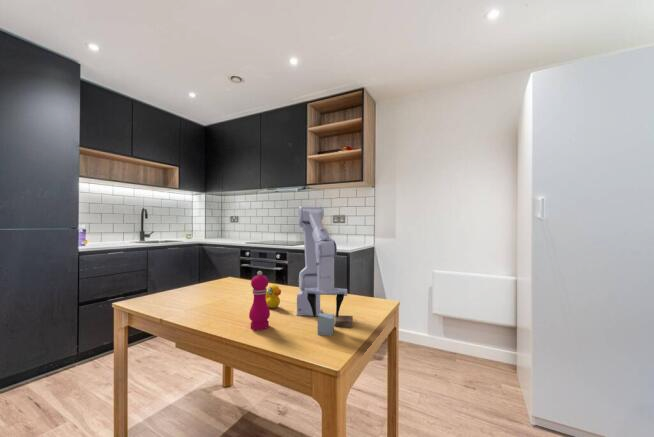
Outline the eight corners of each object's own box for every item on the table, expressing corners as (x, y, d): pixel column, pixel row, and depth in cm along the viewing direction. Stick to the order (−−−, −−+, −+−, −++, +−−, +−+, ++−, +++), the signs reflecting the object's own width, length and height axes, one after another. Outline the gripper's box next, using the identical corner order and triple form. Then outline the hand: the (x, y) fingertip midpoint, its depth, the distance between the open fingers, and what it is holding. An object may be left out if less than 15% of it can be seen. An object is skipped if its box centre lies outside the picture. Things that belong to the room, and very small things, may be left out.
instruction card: (320, 325, 99) (320, 324, 99) (323, 317, 107) (323, 316, 107) (334, 325, 99) (334, 324, 99) (336, 317, 107) (336, 317, 107)
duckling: (285, 309, 117) (285, 286, 118) (274, 312, 114) (274, 288, 114) (271, 303, 126) (271, 281, 126) (260, 306, 122) (260, 283, 122)
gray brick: (317, 334, 91) (317, 318, 91) (319, 329, 96) (319, 313, 96) (332, 335, 90) (332, 318, 91) (333, 329, 95) (333, 313, 96)
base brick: (335, 326, 98) (335, 321, 98) (336, 320, 104) (336, 315, 104) (352, 327, 97) (352, 321, 97) (352, 321, 103) (352, 315, 103)
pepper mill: (259, 332, 93) (259, 273, 93) (244, 328, 97) (244, 271, 97) (274, 325, 99) (274, 270, 99) (259, 321, 103) (259, 268, 103)
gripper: (302, 278, 90) (302, 319, 90) (346, 278, 89) (346, 321, 88) (306, 274, 97) (306, 312, 97) (347, 274, 96) (347, 313, 96)
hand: (325, 316), depth 93 cm, fingers open, 7 cm apart
